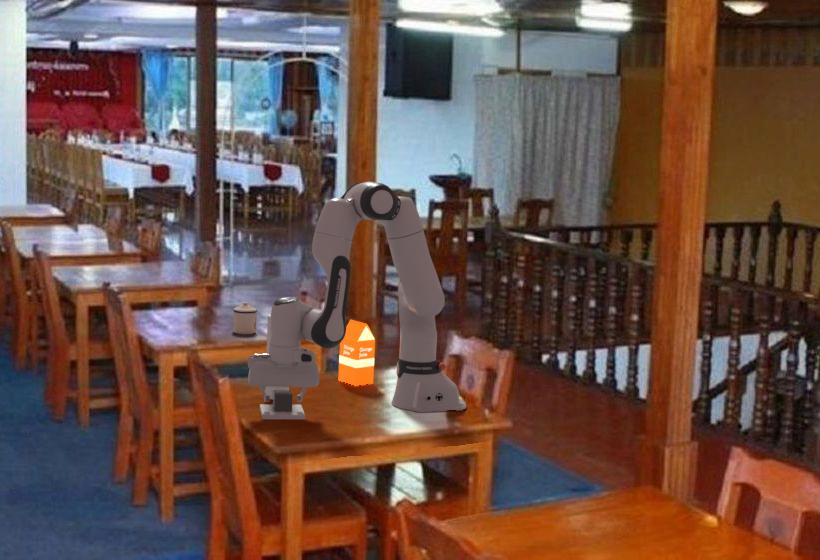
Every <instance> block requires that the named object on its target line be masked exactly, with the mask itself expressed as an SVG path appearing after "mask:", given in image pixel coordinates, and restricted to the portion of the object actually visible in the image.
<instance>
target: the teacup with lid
mask: <svg viewBox="0 0 820 560" xmlns="http://www.w3.org/2000/svg"><path fill="white" fill-rule="evenodd" d="M257 312H258V310H257V308H255V307H253V306H252V305H250V304H249V302H248V301H245V302H244V301H243V302H242V304H241V305H238V306H236V307H234V308H233V327H232V330H233V331H232V332H233V333H234V334H237V335H252V334H253V333H254V334H255V333H257V315H258V314H257Z"/></svg>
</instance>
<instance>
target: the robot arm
mask: <svg viewBox="0 0 820 560" xmlns="http://www.w3.org/2000/svg"><path fill="white" fill-rule="evenodd" d="M417 209H418V208H417V207H416V205H415V203H414V201H413V200H412V199H411V198H410V197H408V196H402V195H401V196H400V195H397V194H396V193H395V192H394V190H393V189H392V188H390V187H389V186H388V185H386V184H385V183H381V182H375V181H364V182H361V181H360V182H356V183H354V184H352V185H351V186H349V187H348V188H347V189H346V191H345V192H344V194H343V195H342V196H341V197H334V198H331V199H328V200H327V201H326V202H325V203H324V205H323V207H322V209H321V212H320V214H319V217H318V220H317V223H316V226H315V230H314V235H313V239H312V243H311V244H312V245H311V253H312V256H313V258H314V260H315V262H316V263H317V264H318V265H319V266H320V268H321V269H323V271H324V273H325V276H326V282H327V283H326V289H325V291H326V292H325V298H324V306H323V309H321V308H319V307H315V306H312V305H310V304H307V303H305V302H304V301H302V300H300V298H299V297H297V296H283V297H280V298H278V299H276V300H274V302H273V304H272V305H271V306H272V307H271V310H270V314H271V318H270V331H271V339H270V343H269V354H266V353H253V354H252V355H250V356H249V357H248V358H247V367H248V369H249V371H248V376H247V377H248V379H247V380H248V385H250V387H259V389H260V391H261V393H262V395H263V401H264V402H267V403H268V402H270V399H269V394H266V393H265V390H266V387H289V388H290V387H300V388H301V392H300V393H299V394H296V402H297V403H300V402H303V396H304V395H305V393H306V392H307V389H308V387H309V388H310V387H312V388H313V387H315V388H316V387H318V385H319V384H320V373H319V372H320V371H319V367H318V364H317V362H316V358H317V356H316V353H315V352H314V351H312V350H310V349H308V348H307V349H306V348H304V347H302V346H301V345H302V344H301V342H302V340H306V341H308V342H311V343H313V344H316V345H318V346H319V347H321V348H322V349H333V348H336V347H337V346H340V343H341V342H342V340H343V339H344V337H345V334H346V327H347V320H346V310H347V304H348V296H349V288H350V281H351V262H350V256H351V255H350V254H351V247H352V243H353V238H354V234H355V230H356V228H357V226H358V224H359V223H360V222H361V221H362V220H365V221H379V222H381V224H382V225H383V228H384V230H385V234H386V239H387V243H388V246H389V250H390V255H391V258H392V259H391V260H392V262H393V265H394V268H395V269H396V273H397V275H398V278H399V280H400V282H399V284H398V287H397V295H398V317H399V328H400V329H399V331H400V333H399V334H400V336H399V337H400V338H399V352H398V353H399V354H398V355H399V357H397V362H396V376H397V378H396V385H395V388H394V389H395V390H394V393H393V396H392V397H393V398H392V400H391V405H392V406H395V407H396V408H400V409H404V410H409V411H413V412H416V413H417V412H418V413H432V411H433V412H434V411H435V412H448V411H447V410H456V411H464V410H463V409H465V408H466V409H467V404H466V402H465V400H463V399H462V398H460V393H459V392H460V391H459V389H458V386H457V384H456V383H455V382H454V381H452V379H450V378H449V377H448V376H447V375H446V374H444V373H443V372H442V371H445V370H446V368H447V366H446V364H445V363H444V362H441V361H440V360H439V359H437V343H438V331H437V325H436V316H437V315H439V314H440V313H441V311H443V310H444V307H445V303H446V302H445V300H446V299H445V295H444V291H443V289H442V285H441V282H440V279H439V276H438V273H437V270H436V268H435V265H434V263H433V260H432V257H431V254H430V250H429V247H428V242H427V238H426V234H425V231H424V226H423V222H422V220H421V217H420V215H419V214H420V213H419V212H418V210H417ZM466 409H465V410H466Z"/></svg>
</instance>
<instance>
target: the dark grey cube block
mask: <svg viewBox="0 0 820 560" xmlns="http://www.w3.org/2000/svg"><path fill="white" fill-rule="evenodd" d="M272 401H273V402H272V405H273V409H274V412H292V405H293V392H292V390H289V391H281V390H274V395H273V399H272Z"/></svg>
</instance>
